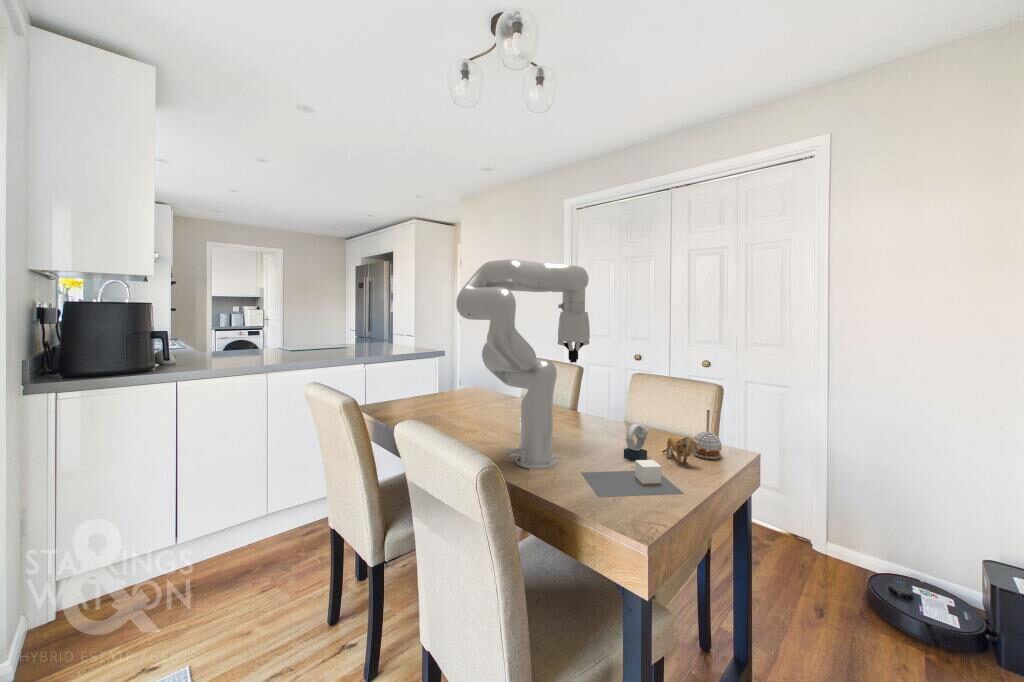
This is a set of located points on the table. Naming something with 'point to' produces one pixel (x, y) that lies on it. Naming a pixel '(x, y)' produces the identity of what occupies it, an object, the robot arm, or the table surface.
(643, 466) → the block
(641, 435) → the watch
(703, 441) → the decorative ornament
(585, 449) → the table surface
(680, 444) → the lion figurine
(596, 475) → the mat
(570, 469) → the table surface
